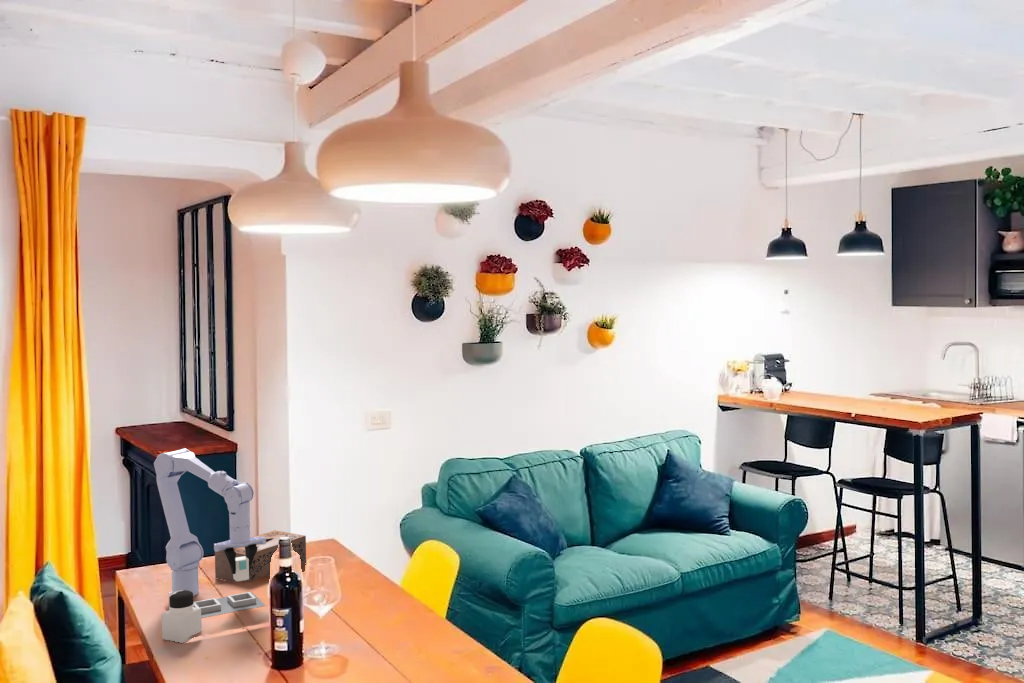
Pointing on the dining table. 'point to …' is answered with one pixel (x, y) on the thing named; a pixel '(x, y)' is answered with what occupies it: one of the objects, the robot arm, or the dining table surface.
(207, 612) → the grey flat plate
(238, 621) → the dining table surface
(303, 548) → the tissue box cover
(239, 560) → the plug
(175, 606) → the medicine bottle
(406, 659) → the dining table surface
